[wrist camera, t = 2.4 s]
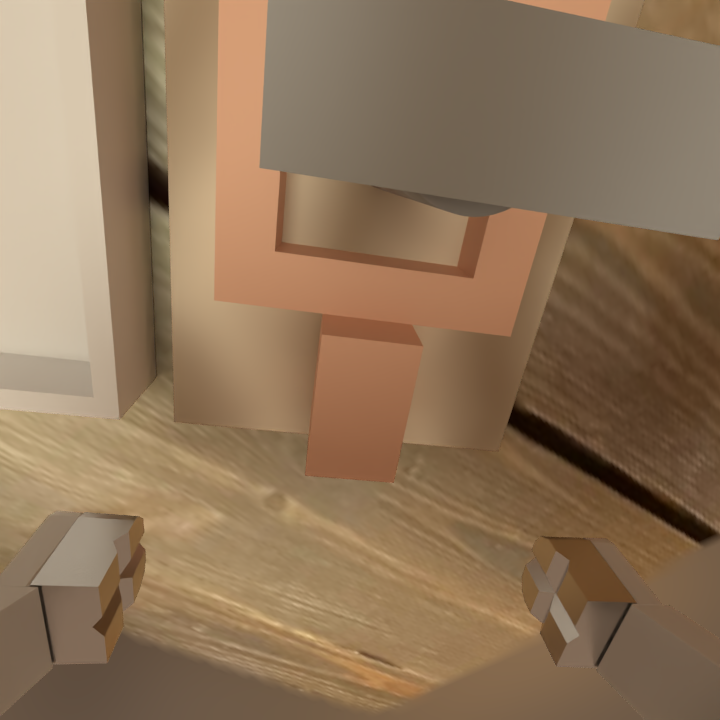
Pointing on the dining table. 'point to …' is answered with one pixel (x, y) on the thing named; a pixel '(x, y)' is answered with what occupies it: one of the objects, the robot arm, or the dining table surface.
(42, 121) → the tray
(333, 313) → the square frame with stem
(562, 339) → the dining table surface
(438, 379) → the board
